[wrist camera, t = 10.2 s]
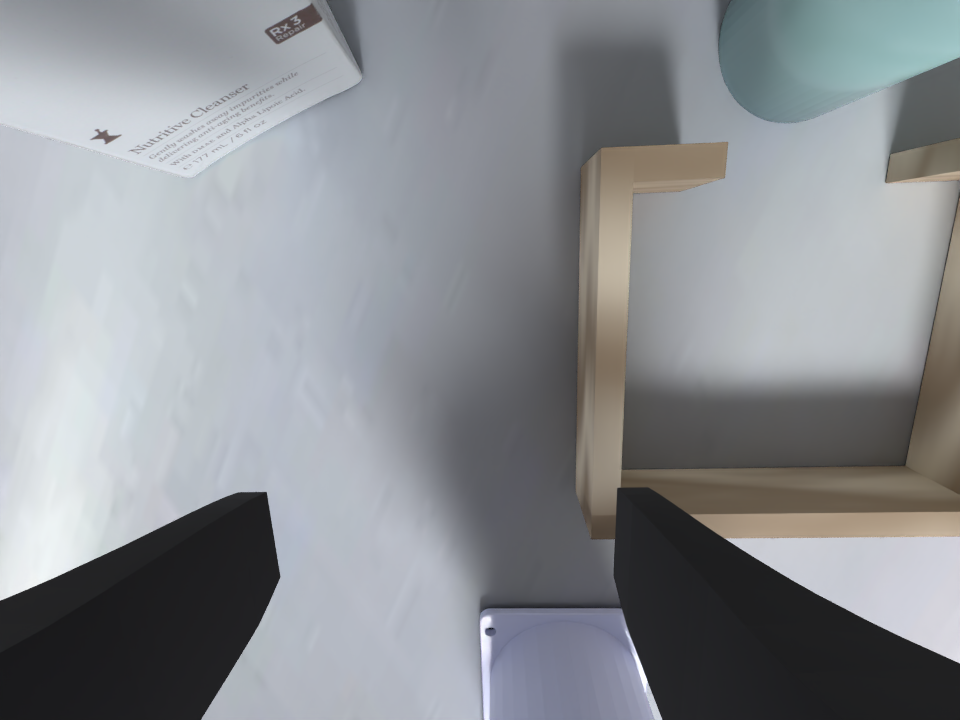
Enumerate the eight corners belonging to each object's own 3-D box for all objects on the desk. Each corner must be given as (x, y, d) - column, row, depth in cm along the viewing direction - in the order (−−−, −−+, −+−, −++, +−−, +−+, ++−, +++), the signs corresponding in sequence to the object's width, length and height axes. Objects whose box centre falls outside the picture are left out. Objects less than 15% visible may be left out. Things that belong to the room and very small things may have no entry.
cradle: (925, 486, 20) (1013, 536, 16) (575, 490, 20) (591, 539, 17) (997, 149, 17) (1126, 124, 13) (580, 167, 17) (601, 147, 14)
